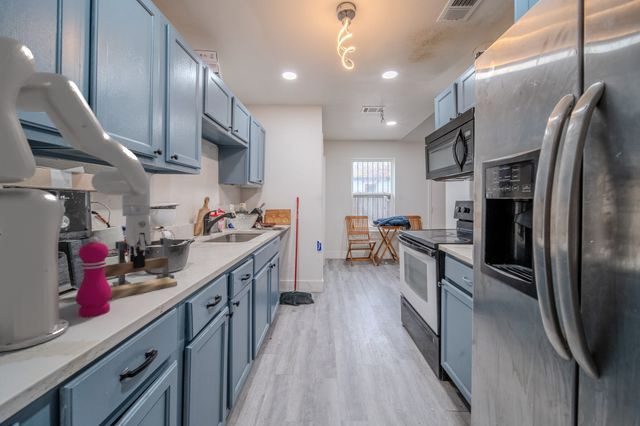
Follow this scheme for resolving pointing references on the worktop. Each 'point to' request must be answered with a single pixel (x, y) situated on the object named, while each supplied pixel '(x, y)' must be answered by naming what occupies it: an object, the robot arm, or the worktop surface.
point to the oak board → (142, 287)
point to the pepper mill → (93, 280)
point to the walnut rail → (128, 268)
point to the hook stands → (121, 259)
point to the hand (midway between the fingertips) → (137, 266)
